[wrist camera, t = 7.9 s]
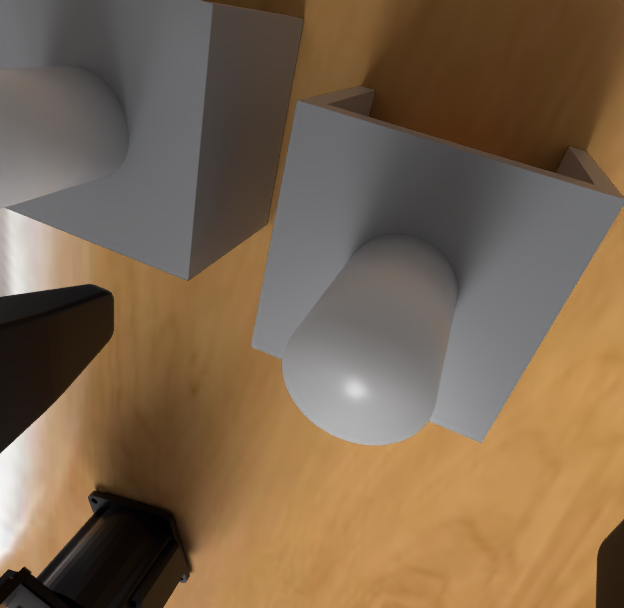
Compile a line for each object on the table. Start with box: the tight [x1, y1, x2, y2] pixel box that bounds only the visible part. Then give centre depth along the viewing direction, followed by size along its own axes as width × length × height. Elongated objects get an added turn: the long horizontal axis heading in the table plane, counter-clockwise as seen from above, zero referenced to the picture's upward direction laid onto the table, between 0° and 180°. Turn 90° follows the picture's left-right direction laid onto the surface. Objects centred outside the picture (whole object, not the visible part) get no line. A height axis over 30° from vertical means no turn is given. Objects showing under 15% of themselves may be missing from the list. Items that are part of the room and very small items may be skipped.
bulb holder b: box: [251, 86, 624, 445], centre depth 12 cm, size 7×7×10 cm
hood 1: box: [0, 0, 304, 281], centre depth 13 cm, size 7×7×10 cm
